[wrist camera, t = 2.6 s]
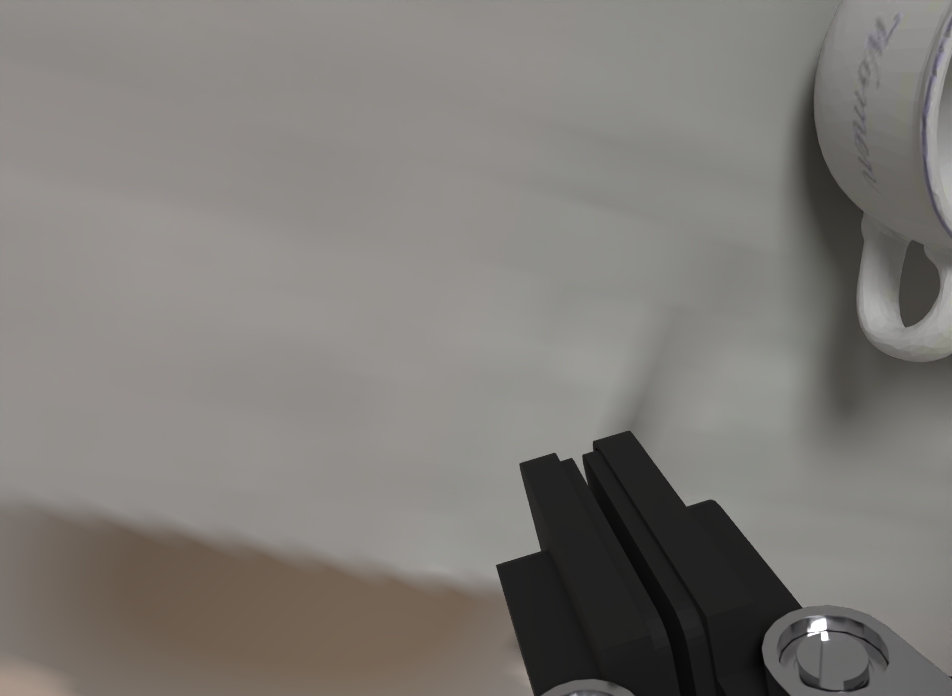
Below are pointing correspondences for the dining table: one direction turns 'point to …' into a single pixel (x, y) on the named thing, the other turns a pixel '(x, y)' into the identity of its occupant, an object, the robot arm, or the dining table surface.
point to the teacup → (893, 155)
